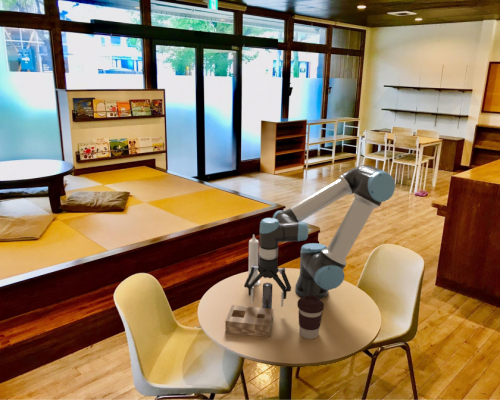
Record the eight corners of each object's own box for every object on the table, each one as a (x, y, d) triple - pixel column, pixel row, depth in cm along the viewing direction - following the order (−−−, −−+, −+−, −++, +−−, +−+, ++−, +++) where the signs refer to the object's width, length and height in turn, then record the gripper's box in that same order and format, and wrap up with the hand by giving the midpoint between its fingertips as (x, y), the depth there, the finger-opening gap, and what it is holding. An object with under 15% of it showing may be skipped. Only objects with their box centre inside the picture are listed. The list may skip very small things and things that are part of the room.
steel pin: (272, 310, 179) (273, 283, 175) (271, 315, 175) (271, 287, 171) (262, 309, 179) (263, 282, 176) (261, 314, 175) (262, 286, 172)
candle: (258, 287, 198) (259, 237, 191) (244, 285, 200) (244, 236, 193) (261, 280, 205) (262, 232, 198) (247, 279, 206) (247, 231, 199)
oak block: (272, 319, 172) (272, 309, 170) (268, 337, 160) (269, 325, 159) (231, 315, 174) (231, 304, 173) (225, 332, 163) (225, 320, 162)
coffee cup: (304, 323, 170) (306, 290, 165) (326, 333, 164) (329, 298, 159) (291, 334, 162) (292, 300, 158) (313, 344, 156) (315, 309, 152)
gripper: (299, 254, 171) (296, 302, 177) (240, 250, 175) (240, 296, 181) (298, 262, 164) (295, 311, 170) (237, 257, 168) (236, 305, 174)
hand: (267, 303), depth 176 cm, fingers open, 12 cm apart
